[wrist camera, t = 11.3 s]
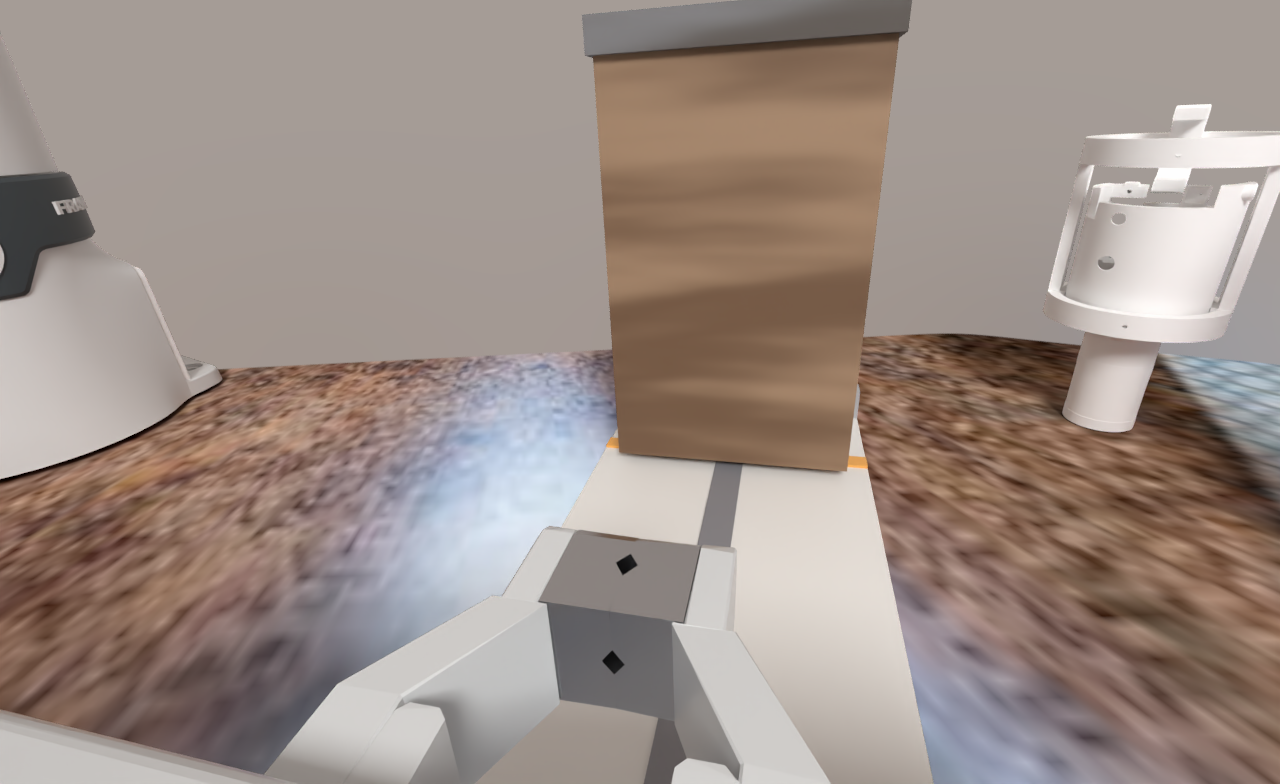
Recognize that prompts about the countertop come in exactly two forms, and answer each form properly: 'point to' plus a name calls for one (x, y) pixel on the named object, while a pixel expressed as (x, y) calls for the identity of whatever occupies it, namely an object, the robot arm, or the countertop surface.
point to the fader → (742, 219)
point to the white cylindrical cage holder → (1154, 257)
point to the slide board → (756, 618)
